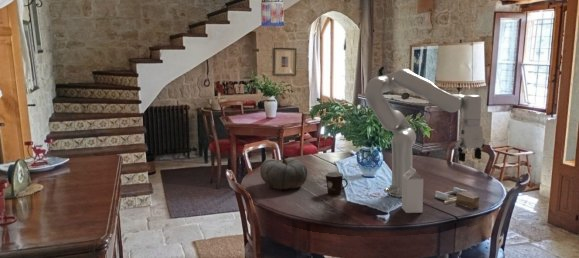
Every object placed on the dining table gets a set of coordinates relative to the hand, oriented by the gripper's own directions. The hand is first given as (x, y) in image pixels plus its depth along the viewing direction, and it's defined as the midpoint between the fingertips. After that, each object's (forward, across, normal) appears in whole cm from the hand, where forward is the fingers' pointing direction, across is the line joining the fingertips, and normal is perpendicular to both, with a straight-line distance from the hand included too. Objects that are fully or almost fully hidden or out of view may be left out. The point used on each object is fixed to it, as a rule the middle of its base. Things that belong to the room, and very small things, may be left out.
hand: (469, 159), depth 198 cm
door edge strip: (+20, -2, +4) cm, 20 cm away
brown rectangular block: (+20, -4, -3) cm, 21 cm away
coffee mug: (+20, -48, +38) cm, 64 cm away
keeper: (+20, -2, +9) cm, 22 cm away
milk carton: (+20, -30, +3) cm, 36 cm away
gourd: (+19, -65, +63) cm, 92 cm away
